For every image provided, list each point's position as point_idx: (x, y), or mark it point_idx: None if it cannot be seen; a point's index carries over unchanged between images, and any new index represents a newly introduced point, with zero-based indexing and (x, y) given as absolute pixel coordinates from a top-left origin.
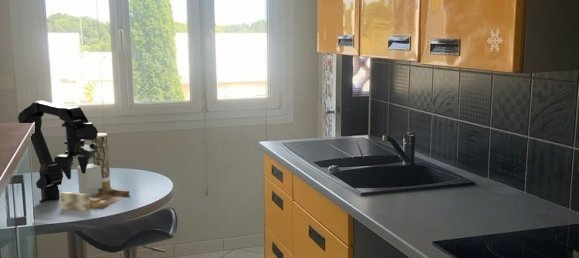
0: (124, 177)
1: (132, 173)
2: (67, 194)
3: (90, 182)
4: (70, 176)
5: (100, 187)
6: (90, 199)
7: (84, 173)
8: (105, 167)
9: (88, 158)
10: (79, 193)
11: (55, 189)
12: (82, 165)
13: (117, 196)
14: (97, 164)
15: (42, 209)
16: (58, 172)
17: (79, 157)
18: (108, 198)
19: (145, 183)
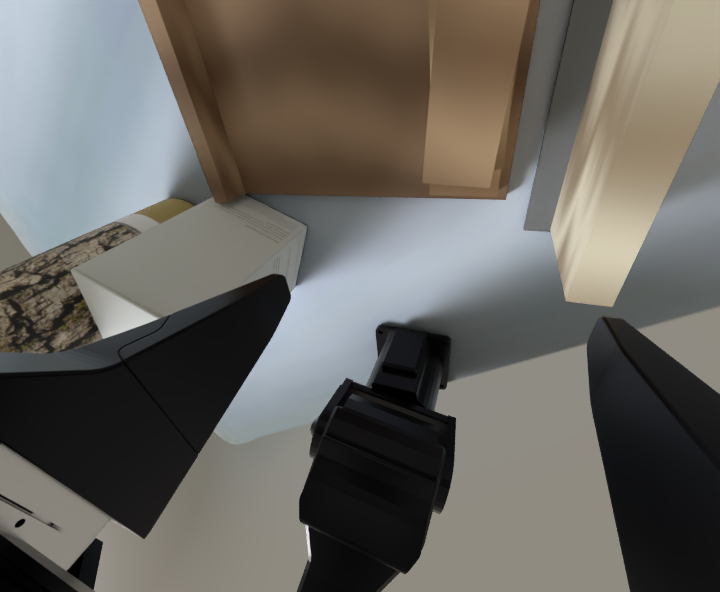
0: (73, 235)
1: (39, 234)
2: (644, 226)
3: (239, 254)
4: (638, 342)
5: (212, 205)
6: (507, 14)
7: (282, 275)
8: (64, 258)
9: (5, 379)
10: (664, 68)
11: (399, 376)
12: (221, 362)
13: (214, 11)
14: (84, 311)
15: (560, 338)
16: (359, 458)
17: (138, 501)
18: (277, 48)
19: (7, 76)
